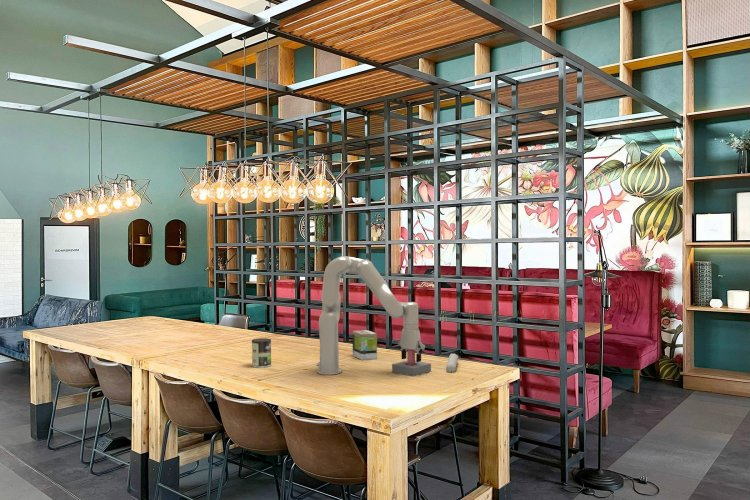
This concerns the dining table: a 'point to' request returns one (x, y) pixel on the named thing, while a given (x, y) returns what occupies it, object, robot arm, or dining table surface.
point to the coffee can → (261, 352)
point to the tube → (452, 363)
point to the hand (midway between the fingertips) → (411, 360)
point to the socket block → (411, 368)
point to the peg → (410, 357)
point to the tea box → (365, 344)
